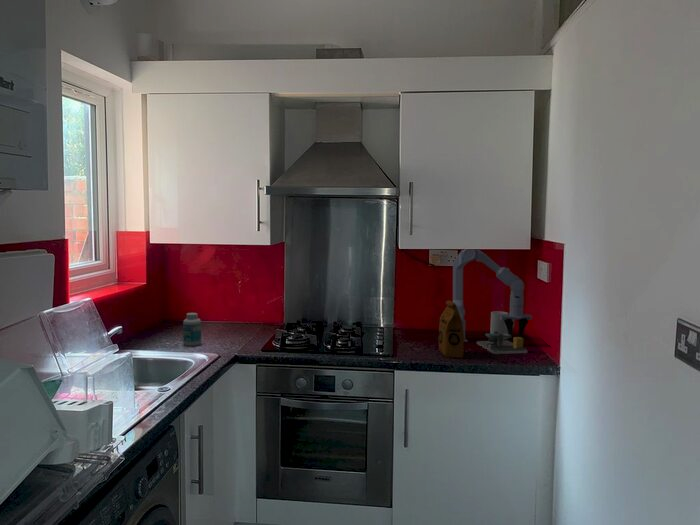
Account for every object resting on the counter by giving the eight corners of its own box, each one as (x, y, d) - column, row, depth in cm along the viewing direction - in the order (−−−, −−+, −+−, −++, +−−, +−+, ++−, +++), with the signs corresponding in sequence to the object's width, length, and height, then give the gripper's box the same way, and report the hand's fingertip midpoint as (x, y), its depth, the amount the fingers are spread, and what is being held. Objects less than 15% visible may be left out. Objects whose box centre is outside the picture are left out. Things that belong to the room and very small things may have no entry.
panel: (494, 354, 223) (494, 340, 223) (476, 343, 241) (477, 331, 241) (527, 353, 226) (527, 340, 226) (507, 342, 244) (507, 330, 243)
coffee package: (441, 358, 215) (443, 304, 213) (436, 350, 228) (438, 299, 226) (466, 358, 215) (468, 305, 213) (459, 350, 228) (461, 300, 226)
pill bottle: (180, 344, 231) (179, 313, 230) (195, 341, 236) (195, 311, 235) (189, 347, 226) (188, 316, 225) (204, 344, 231) (204, 313, 230)
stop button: (490, 342, 230) (490, 338, 230) (487, 340, 234) (487, 336, 234) (498, 342, 231) (498, 337, 231) (494, 340, 235) (495, 335, 234)
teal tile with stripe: (489, 337, 236) (489, 335, 236) (485, 335, 240) (485, 333, 240) (511, 338, 238) (511, 335, 238) (507, 335, 242) (507, 333, 242)
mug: (510, 335, 259) (512, 311, 258) (517, 339, 250) (518, 314, 249) (487, 335, 258) (488, 311, 257) (492, 339, 250) (493, 314, 249)
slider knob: (516, 349, 227) (516, 338, 226) (513, 347, 230) (513, 337, 229) (522, 349, 227) (523, 338, 227) (519, 347, 230) (519, 337, 230)
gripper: (505, 307, 234) (504, 337, 235) (536, 306, 236) (534, 336, 237) (498, 304, 241) (497, 334, 242) (528, 304, 243) (527, 333, 244)
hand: (515, 335), depth 240 cm, fingers open, 4 cm apart
